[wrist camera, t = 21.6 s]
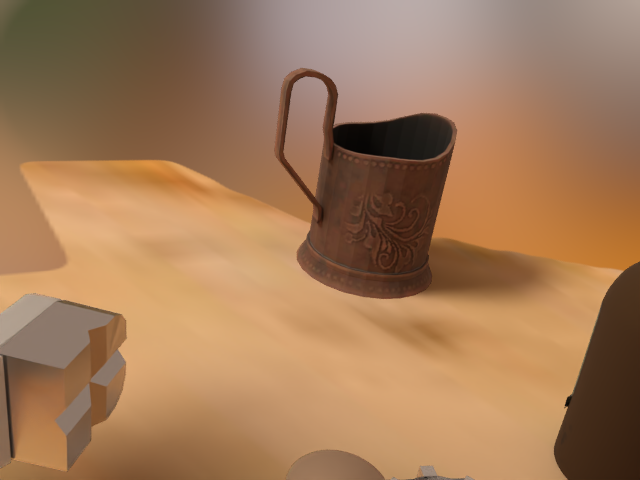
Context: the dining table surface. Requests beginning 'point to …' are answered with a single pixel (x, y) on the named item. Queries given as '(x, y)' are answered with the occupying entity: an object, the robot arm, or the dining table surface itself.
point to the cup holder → (372, 198)
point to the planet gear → (332, 467)
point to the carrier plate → (431, 475)
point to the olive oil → (607, 393)
